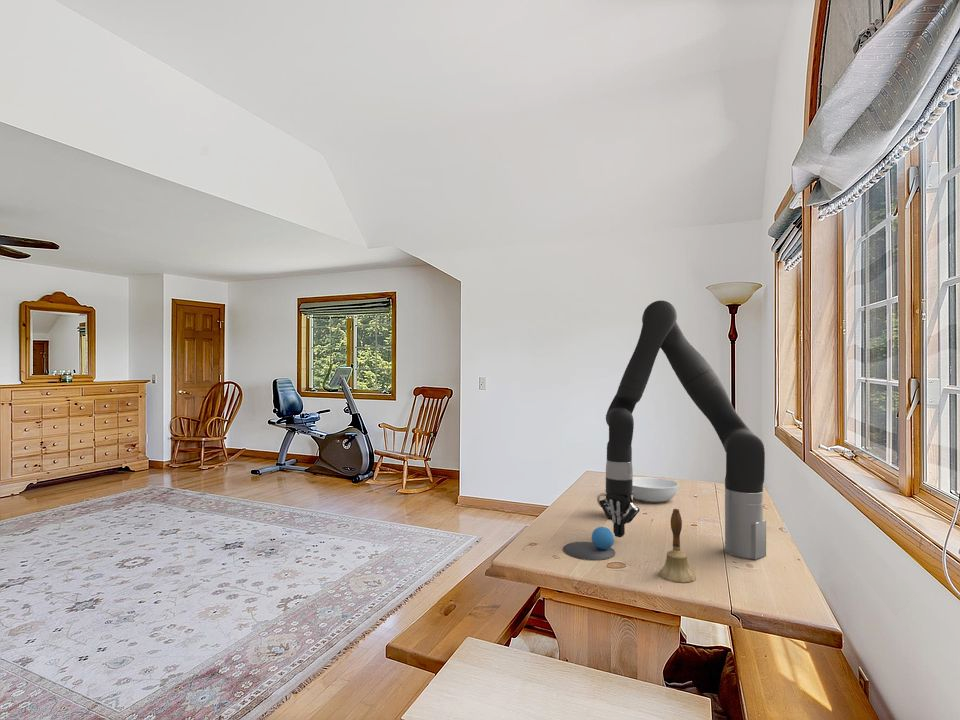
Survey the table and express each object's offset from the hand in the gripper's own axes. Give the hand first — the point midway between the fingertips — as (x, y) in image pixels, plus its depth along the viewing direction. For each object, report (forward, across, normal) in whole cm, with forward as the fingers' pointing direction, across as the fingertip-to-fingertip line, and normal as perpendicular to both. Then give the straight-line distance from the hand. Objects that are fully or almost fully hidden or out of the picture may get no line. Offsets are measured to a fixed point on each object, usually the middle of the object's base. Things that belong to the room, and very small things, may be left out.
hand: (618, 536), depth 149 cm
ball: (-2, -1, +9) cm, 9 cm away
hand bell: (+2, -24, +9) cm, 26 cm away
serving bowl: (+2, +24, -50) cm, 55 cm away
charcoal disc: (+2, 0, +13) cm, 13 cm away
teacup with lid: (+2, +17, -20) cm, 26 cm away
